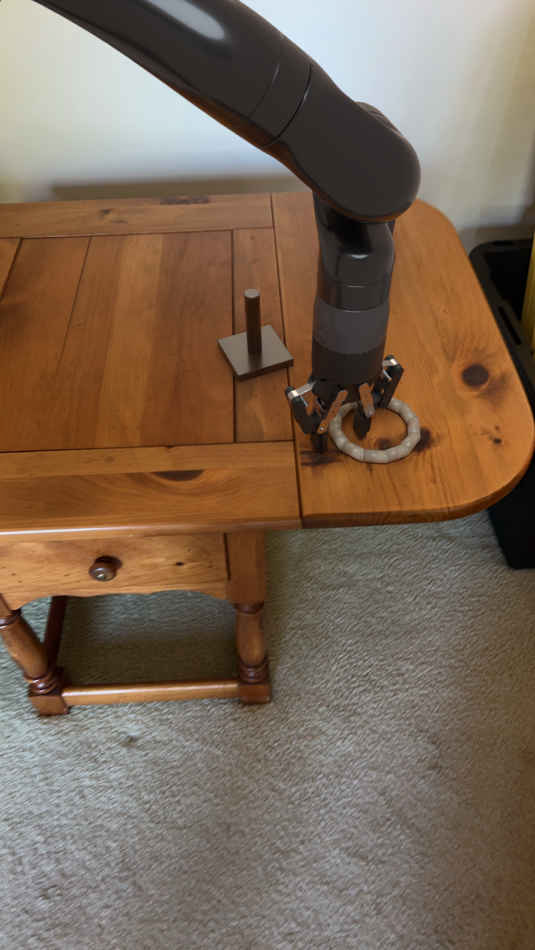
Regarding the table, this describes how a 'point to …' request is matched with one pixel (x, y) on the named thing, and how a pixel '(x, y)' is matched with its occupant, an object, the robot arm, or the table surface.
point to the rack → (254, 345)
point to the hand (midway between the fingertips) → (339, 439)
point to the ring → (377, 455)
